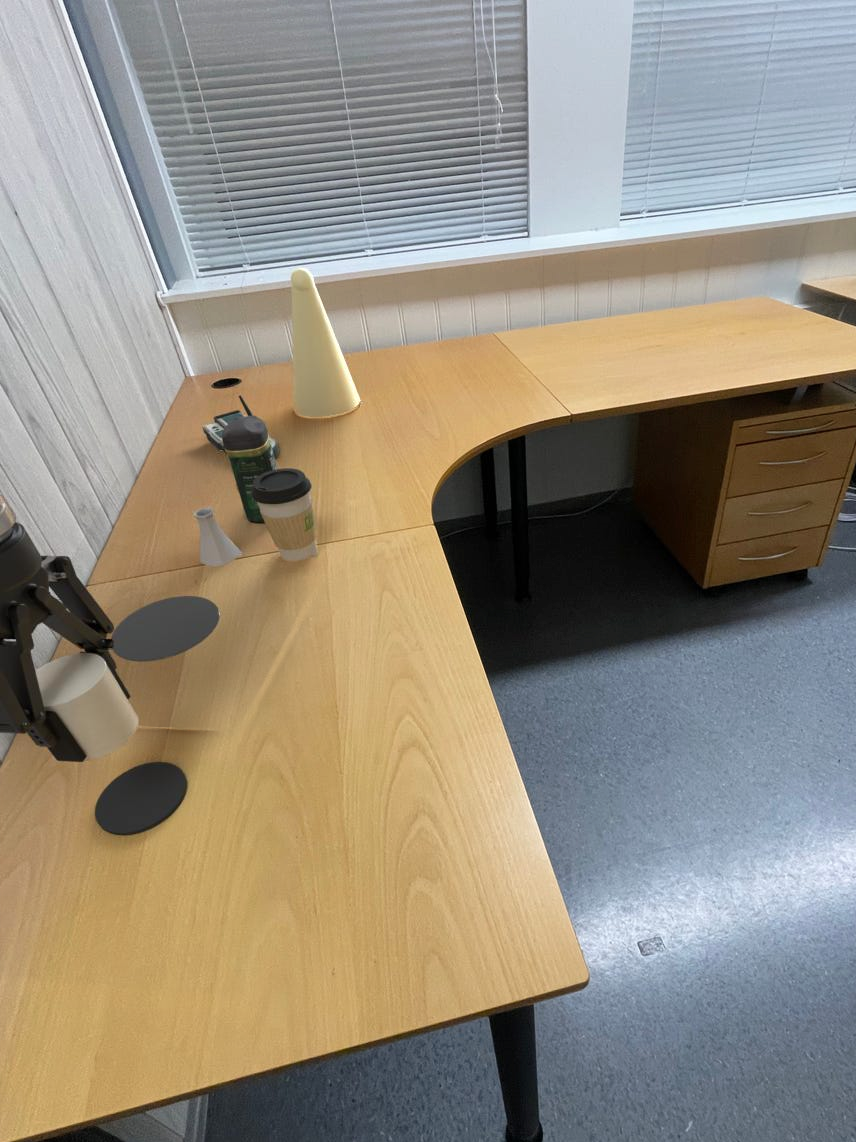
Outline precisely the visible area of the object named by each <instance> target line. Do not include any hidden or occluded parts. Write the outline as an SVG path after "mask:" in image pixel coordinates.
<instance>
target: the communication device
mask: <svg viewBox="0 0 856 1142" xmlns="http://www.w3.org/2000/svg"><path fill="white" fill-rule="evenodd" d="M238 399H239V400H240V403H241V404H242V406H243V408H244V411H245V413H246V415H245V414H244V413H243V412H242V411H241V410H240V409H236V410H233V411H229V412H225V413H222V414H218V415H215V416H213V421H214V422H212V423H208V424H206V425H202V426H201V427H202V431H203V433H204V434H205V436H206V439H207V441H208V442H209V443H211V445H213V446H214V447H215V448H216V449H217V450H218V451H220V450H222V452H224V451H225V448H224V445H223V441H222V438H221V437H222V433H223V430H224V429H225V427H226V426H227V425H228V424H229V423H230V422H231V421H232V420H234V418H235V417H243V416H254V415H253V413H252V411H251V410H250V408H249V407H248V405H247V403H246V401H245V400H244V398H243V397H242V395H241V394H240V395H238ZM269 438H270V442H271V447H272V451H273V455H274V458H276V459H277V457H278V456H279V454H280V449H279V446H278V445H279V442H278V441H277V440H276V439H274V438H273V437H271V436H269ZM223 450H224V451H223ZM225 452H226V451H225Z"/></svg>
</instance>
